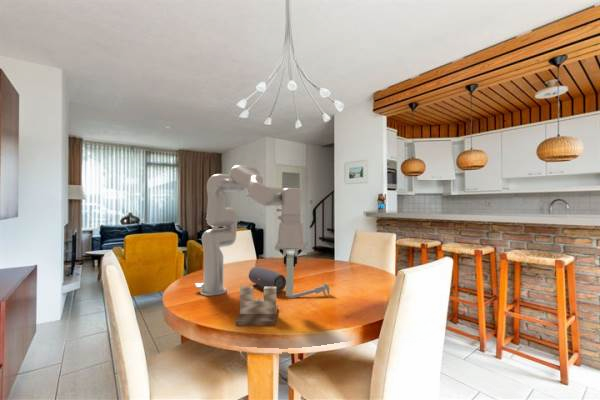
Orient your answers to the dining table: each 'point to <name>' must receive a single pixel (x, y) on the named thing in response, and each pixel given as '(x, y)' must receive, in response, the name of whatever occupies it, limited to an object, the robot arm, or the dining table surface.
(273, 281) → the bluetooth speaker
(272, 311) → the slotted stand
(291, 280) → the slotted plate
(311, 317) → the dining table surface
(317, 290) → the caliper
